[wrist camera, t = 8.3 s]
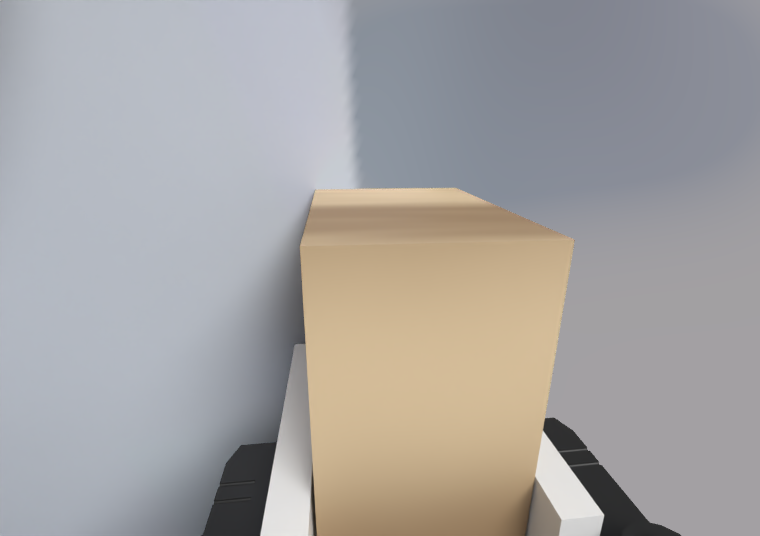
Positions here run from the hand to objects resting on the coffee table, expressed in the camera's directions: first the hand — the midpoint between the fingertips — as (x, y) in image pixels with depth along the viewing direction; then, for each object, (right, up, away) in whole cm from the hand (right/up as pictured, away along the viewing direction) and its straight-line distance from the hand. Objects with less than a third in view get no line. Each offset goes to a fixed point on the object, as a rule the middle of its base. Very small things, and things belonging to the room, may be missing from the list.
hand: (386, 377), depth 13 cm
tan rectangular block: (0, 0, 0) cm, 0 cm away
